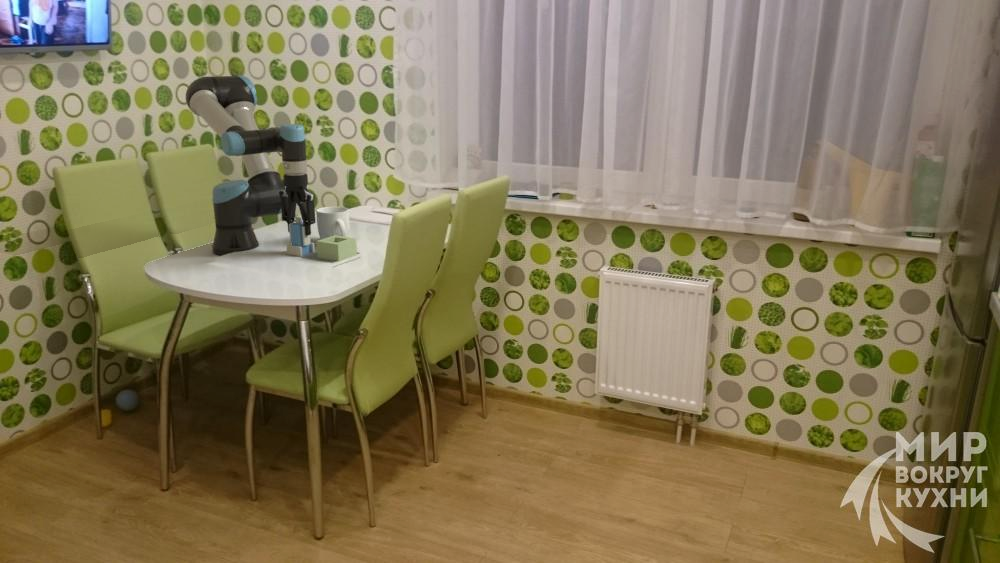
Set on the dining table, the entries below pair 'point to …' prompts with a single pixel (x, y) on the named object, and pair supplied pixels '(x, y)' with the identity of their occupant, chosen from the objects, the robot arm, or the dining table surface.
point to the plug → (298, 235)
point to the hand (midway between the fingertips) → (300, 243)
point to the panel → (312, 254)
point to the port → (336, 248)
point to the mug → (333, 221)
